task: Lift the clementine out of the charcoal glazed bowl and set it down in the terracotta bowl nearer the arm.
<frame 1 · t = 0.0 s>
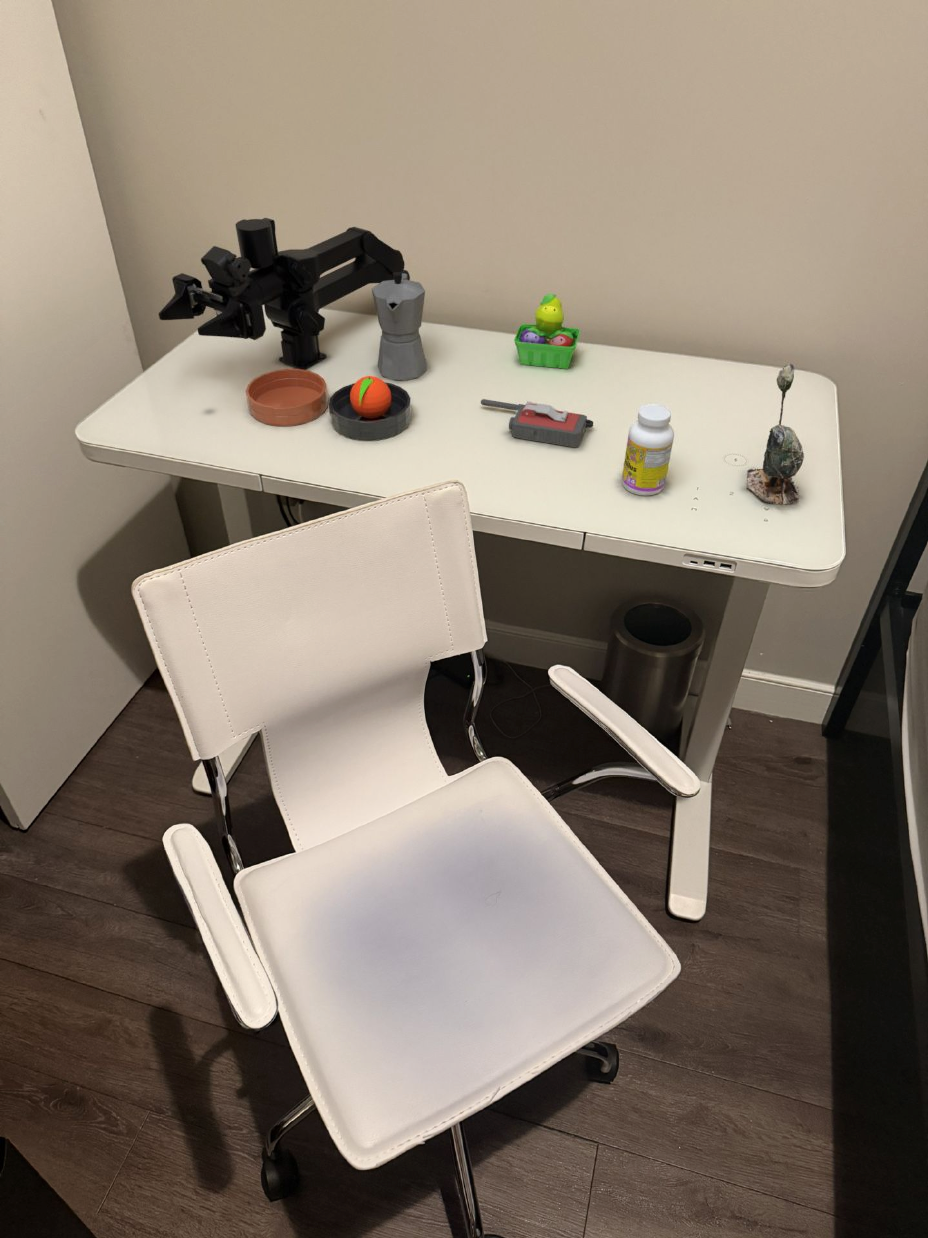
hand: (178, 324, 141), 17 cm above the table, tool horizontal, fingers open, 9 cm apart
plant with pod: (770, 493, 136), on the table
charcoal bowl: (371, 419, 152), on the table
clementine: (371, 418, 151), resting on charcoal bowl
terracotta bowl: (289, 406, 155), on the table
walkie-talkie: (531, 428, 150), on the table
fruit basket: (546, 360, 168), on the table
coffeepot: (403, 367, 166), on the table
supplement bottle: (642, 486, 138), on the table
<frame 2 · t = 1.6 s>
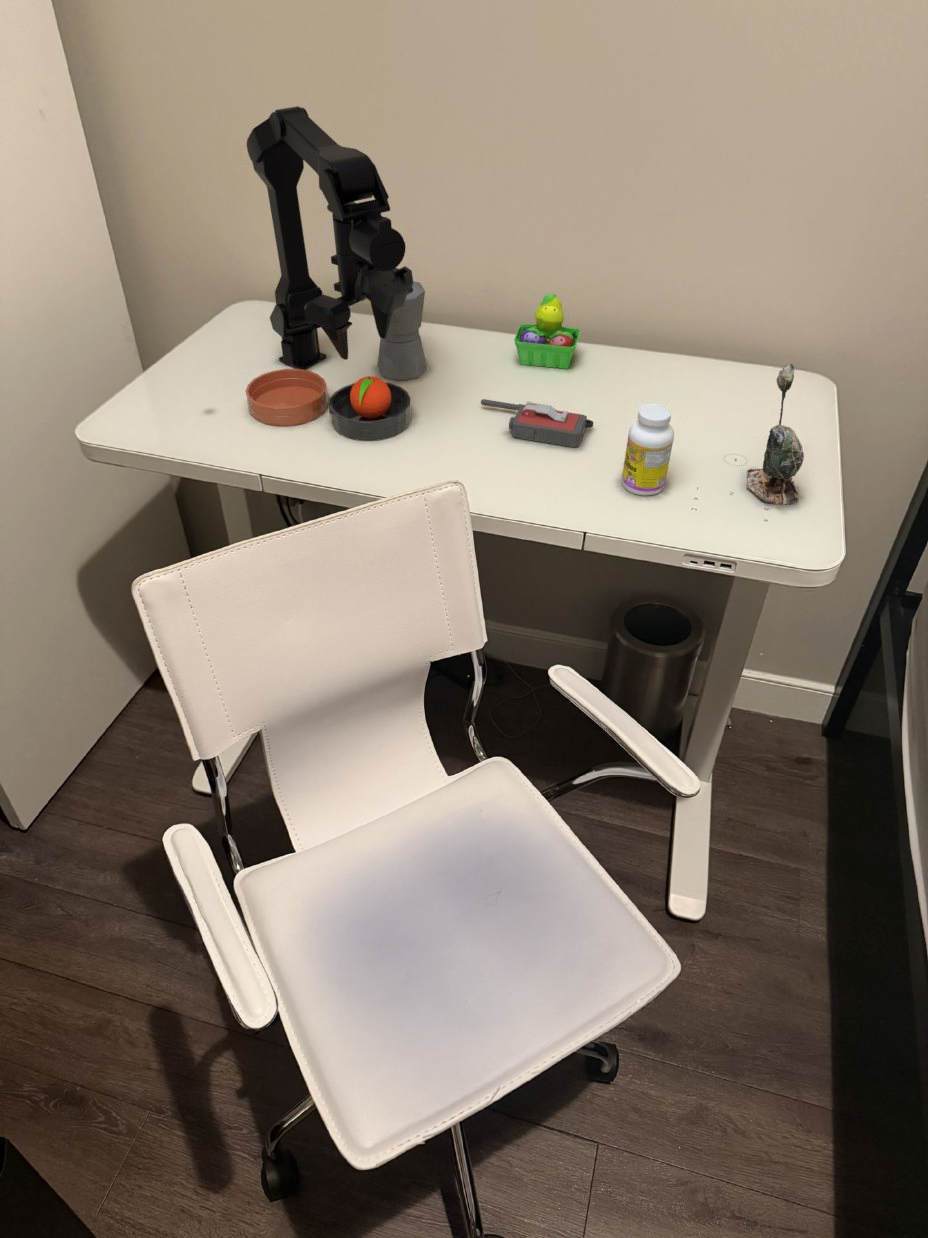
hand: (364, 347, 143), 13 cm above the table, tool pointing down, fingers open, 9 cm apart
nothing on the table moved.
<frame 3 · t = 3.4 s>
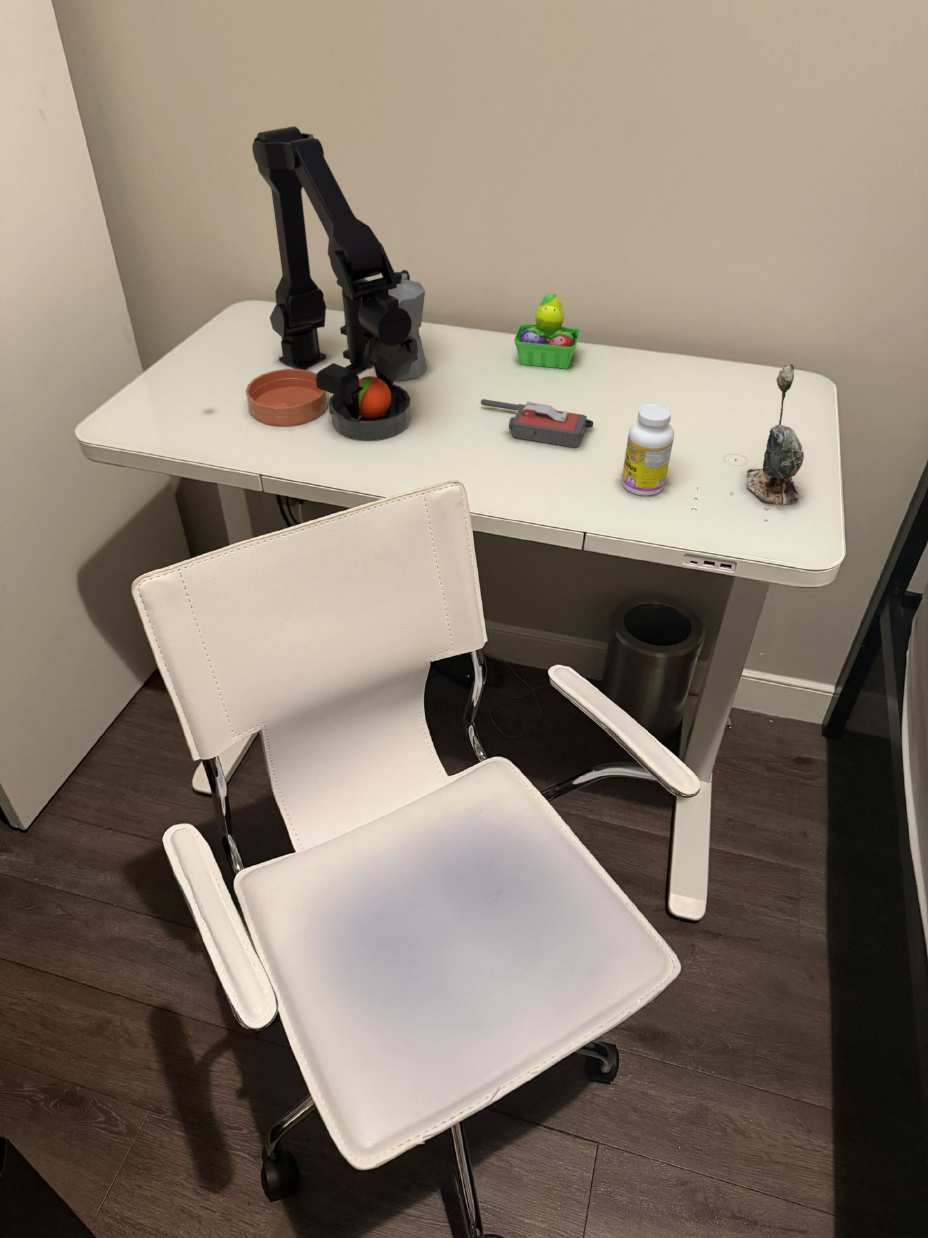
hand: (370, 408, 150), 2 cm above the table, tool pointing down, fingers closed on clementine, 7 cm apart
clementine: (371, 418, 151), resting on charcoal bowl, touching gripper
everything else where it was.
when the fingers open (2 cm above the table, at t = 9.9 s): clementine stays where it is, resting on terracotta bowl.
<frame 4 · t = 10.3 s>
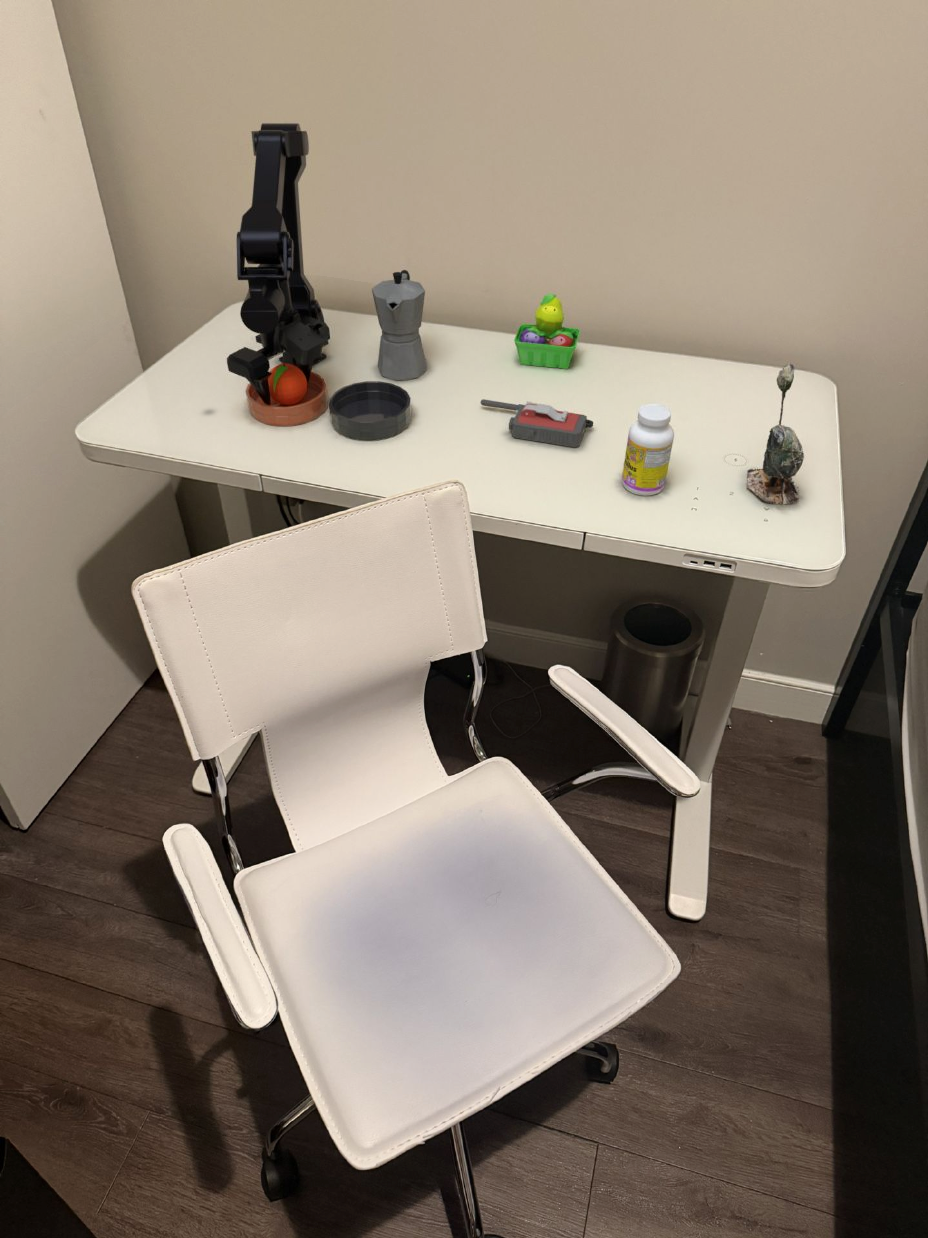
hand: (287, 393, 153), 3 cm above the table, tool pointing down, fingers open, 9 cm apart
clementine: (288, 404, 155), resting on terracotta bowl
everything else where it was.
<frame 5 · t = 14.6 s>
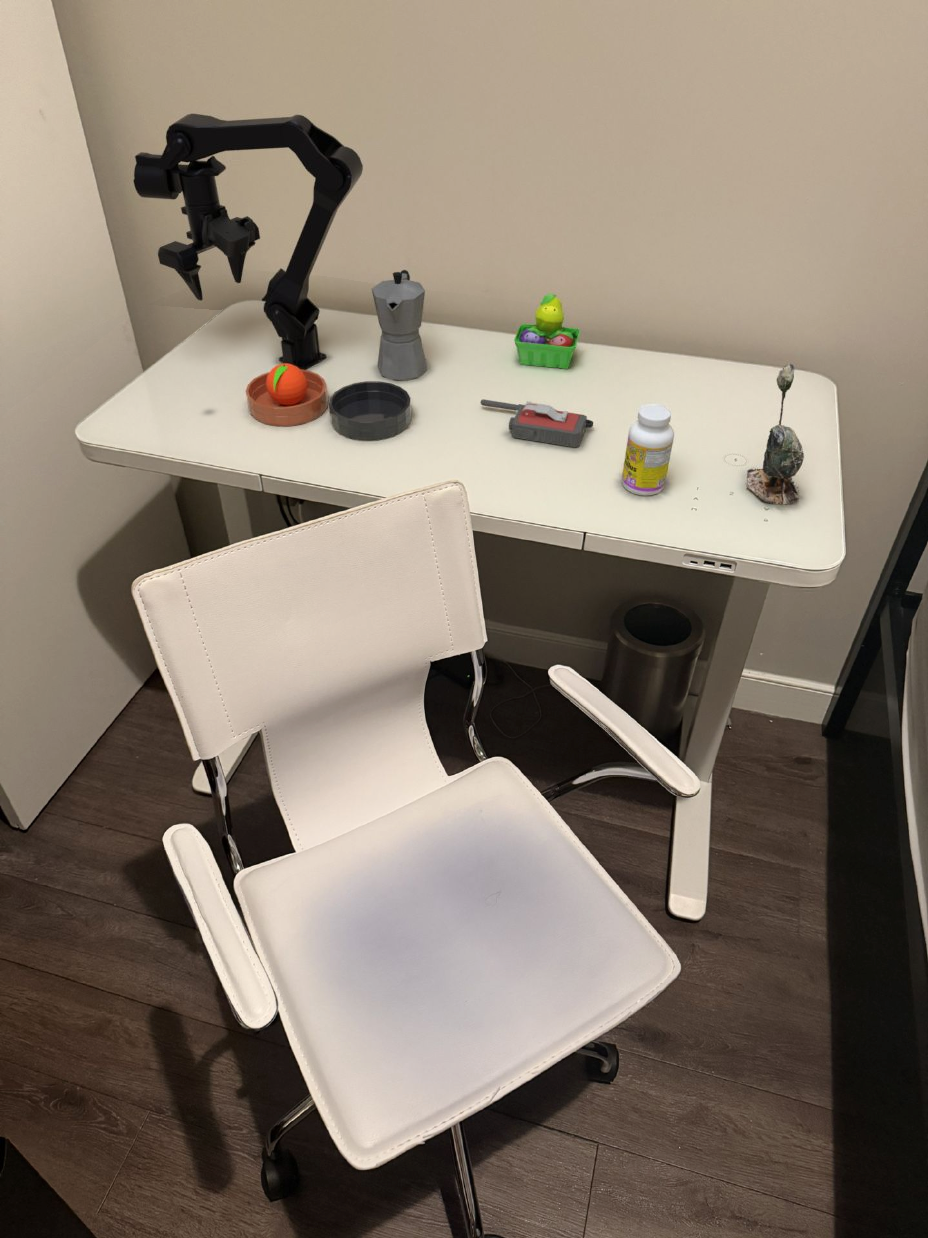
hand: (219, 290, 161), 12 cm above the table, tool pointing down, fingers open, 9 cm apart
nothing on the table moved.
at the end: clementine inside the target area in the terracotta bowl (0.1 cm from its centre), point 0.3 cm above the terracotta bowl's base; the gripper is holding nothing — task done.
